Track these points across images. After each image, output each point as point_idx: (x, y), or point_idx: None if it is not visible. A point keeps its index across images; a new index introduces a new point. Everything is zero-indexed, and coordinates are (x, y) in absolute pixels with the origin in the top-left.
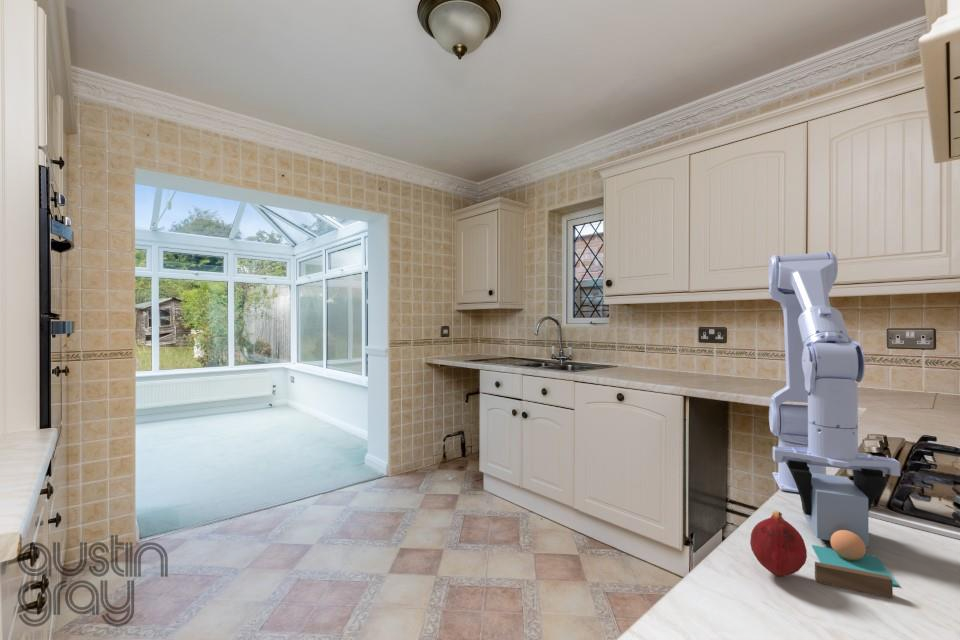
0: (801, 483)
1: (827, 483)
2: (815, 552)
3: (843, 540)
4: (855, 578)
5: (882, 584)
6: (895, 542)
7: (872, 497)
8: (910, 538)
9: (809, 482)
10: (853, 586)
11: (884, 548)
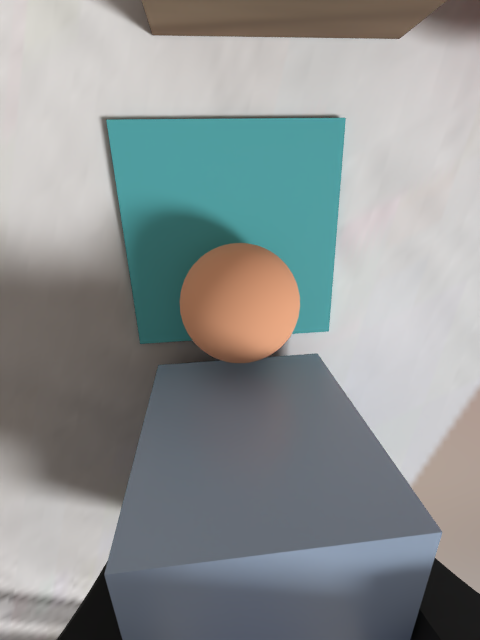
0: (477, 612)
1: None
2: (331, 279)
3: (270, 269)
4: None
5: None
6: (68, 482)
7: (76, 631)
8: (24, 528)
9: (450, 635)
10: None
11: (105, 425)
